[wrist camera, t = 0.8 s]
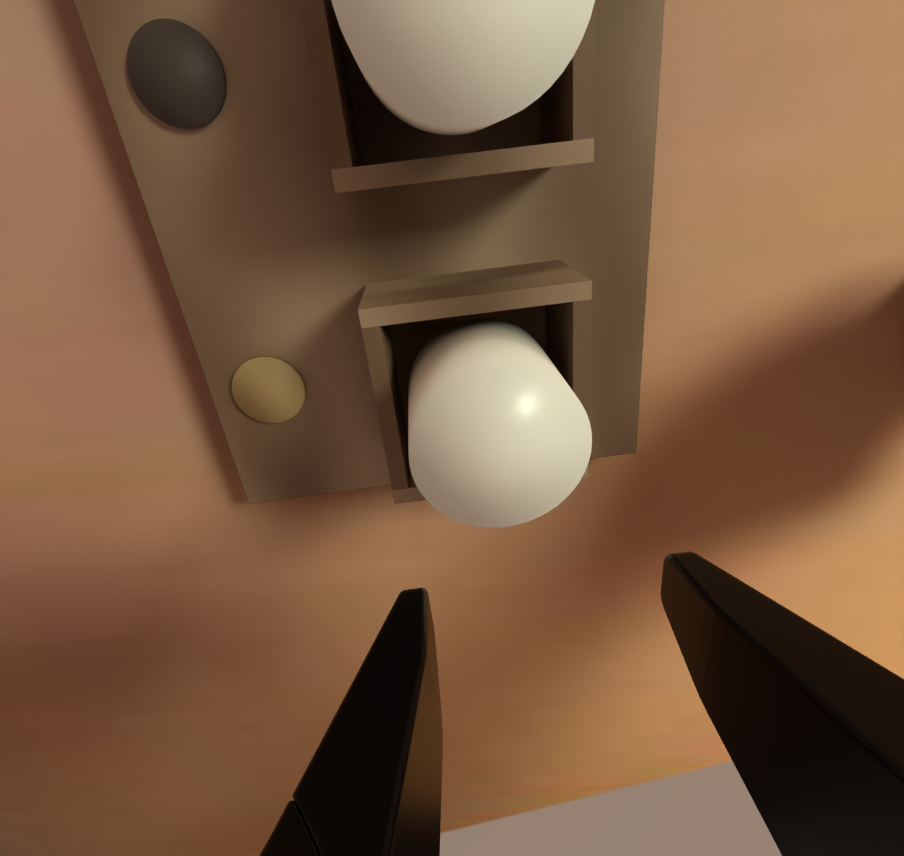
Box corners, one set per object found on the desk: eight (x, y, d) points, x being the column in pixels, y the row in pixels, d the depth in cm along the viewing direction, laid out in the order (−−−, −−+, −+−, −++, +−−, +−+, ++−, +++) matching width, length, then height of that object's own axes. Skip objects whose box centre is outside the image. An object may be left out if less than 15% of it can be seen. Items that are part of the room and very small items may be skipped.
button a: (549, 308, 15) (593, 354, 11) (552, 441, 17) (590, 515, 14) (397, 328, 15) (394, 379, 11) (418, 459, 17) (422, 538, 13)
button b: (540, -116, 11) (604, -251, 7) (545, 125, 13) (598, 111, 9) (331, -93, 11) (293, -219, 7) (369, 146, 13) (354, 140, 9)
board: (694, -943, 9) (927, -1838, 5) (624, 438, 21) (674, 501, 17) (-197, -870, 9) (-716, -1761, 5) (257, 486, 21) (221, 562, 17)
